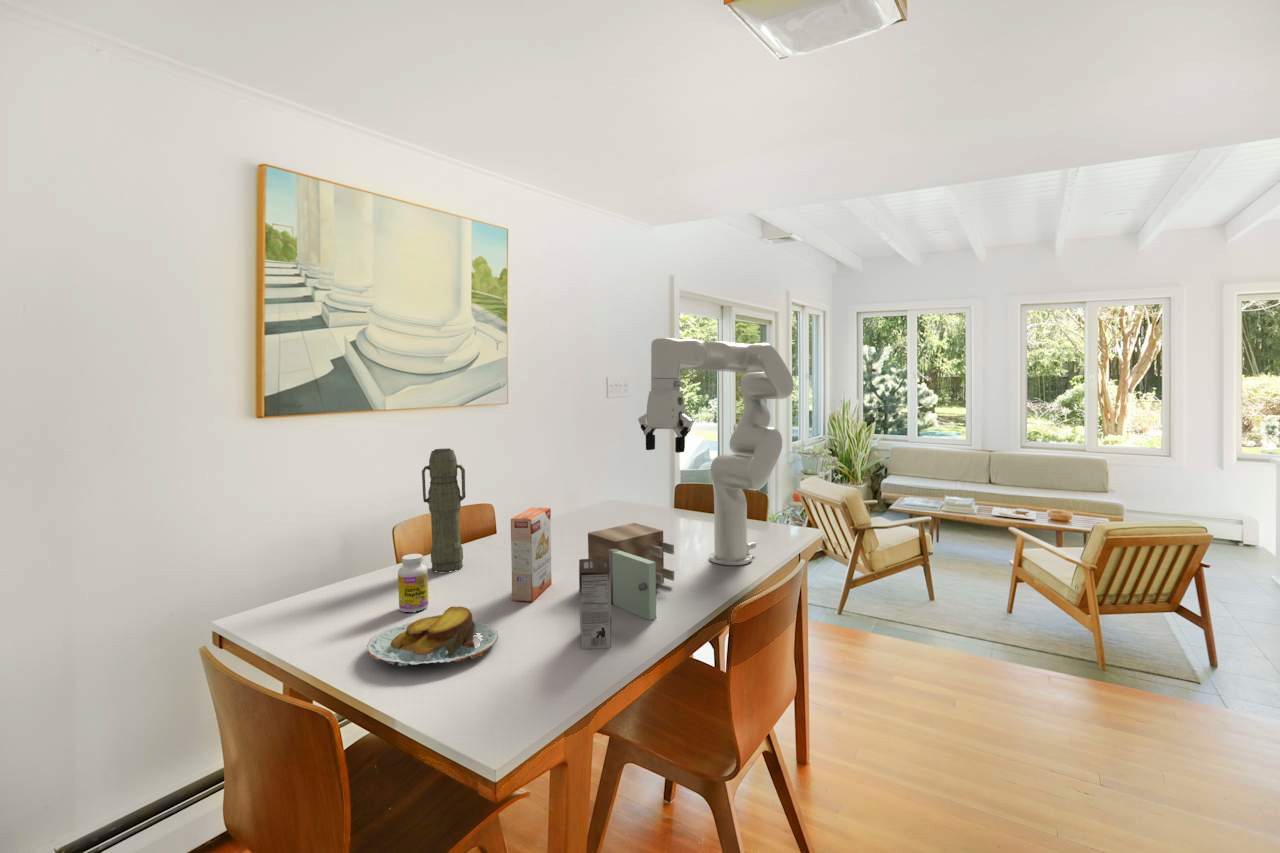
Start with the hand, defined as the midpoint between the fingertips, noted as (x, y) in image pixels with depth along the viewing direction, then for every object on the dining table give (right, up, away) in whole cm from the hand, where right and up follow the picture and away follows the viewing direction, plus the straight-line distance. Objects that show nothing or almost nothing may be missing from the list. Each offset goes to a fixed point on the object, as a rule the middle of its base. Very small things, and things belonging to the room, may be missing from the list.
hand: (664, 450), depth 161 cm
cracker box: (-34, -37, -4) cm, 50 cm away
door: (-8, -37, -17) cm, 42 cm away
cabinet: (-9, -36, 0) cm, 37 cm away
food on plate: (-49, -40, -36) cm, 72 cm away
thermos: (-63, -35, +18) cm, 74 cm away
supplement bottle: (-61, -38, -14) cm, 73 cm away
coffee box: (-16, -39, -33) cm, 53 cm away
